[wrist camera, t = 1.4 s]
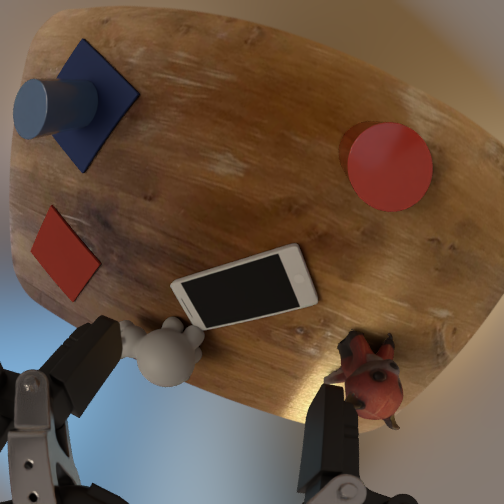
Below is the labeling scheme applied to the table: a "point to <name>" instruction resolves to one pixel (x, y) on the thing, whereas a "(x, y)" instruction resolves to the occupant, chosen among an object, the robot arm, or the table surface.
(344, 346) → the stuffed fox
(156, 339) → the toy rhinoceros
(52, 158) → the table surface
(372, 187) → the red cylinder
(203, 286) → the smartphone
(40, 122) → the grey-blue cylinder
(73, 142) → the blue mat
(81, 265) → the red mat
